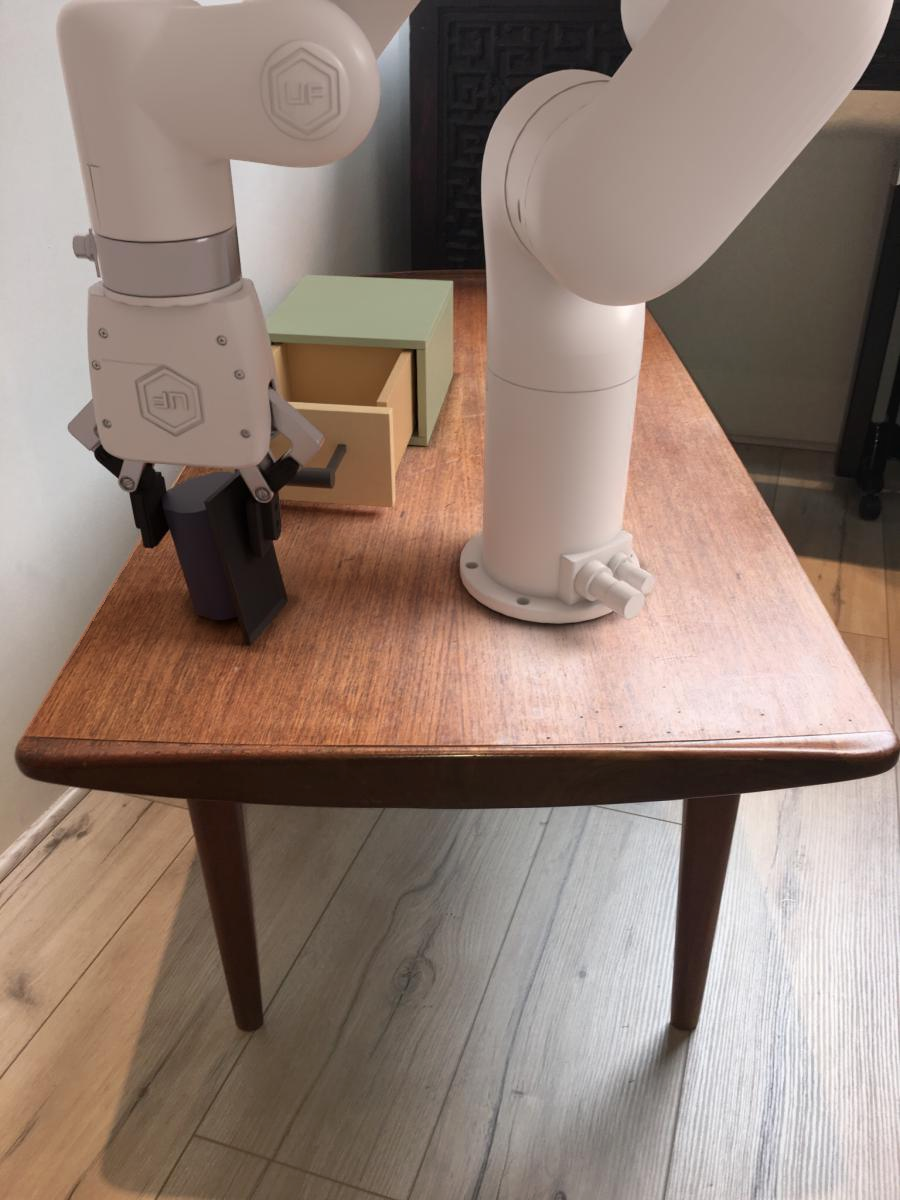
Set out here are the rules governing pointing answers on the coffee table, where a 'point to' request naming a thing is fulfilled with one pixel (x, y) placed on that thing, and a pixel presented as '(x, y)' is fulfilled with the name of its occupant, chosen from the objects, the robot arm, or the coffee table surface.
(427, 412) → the cabinet
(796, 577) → the coffee table surface
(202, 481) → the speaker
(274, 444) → the drawer
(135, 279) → the robot arm
